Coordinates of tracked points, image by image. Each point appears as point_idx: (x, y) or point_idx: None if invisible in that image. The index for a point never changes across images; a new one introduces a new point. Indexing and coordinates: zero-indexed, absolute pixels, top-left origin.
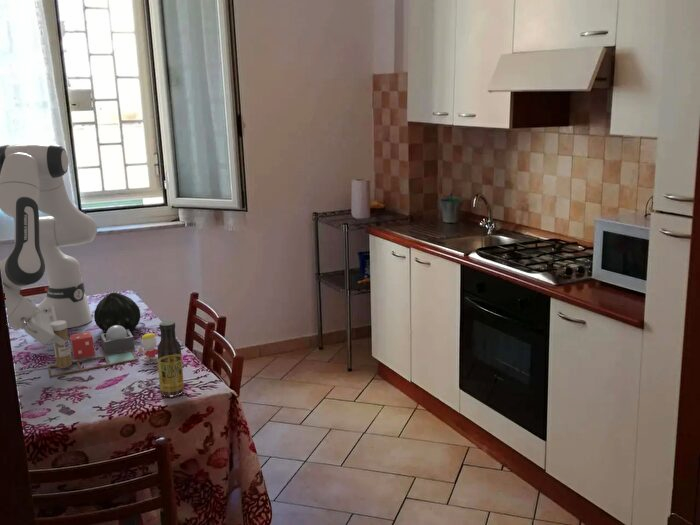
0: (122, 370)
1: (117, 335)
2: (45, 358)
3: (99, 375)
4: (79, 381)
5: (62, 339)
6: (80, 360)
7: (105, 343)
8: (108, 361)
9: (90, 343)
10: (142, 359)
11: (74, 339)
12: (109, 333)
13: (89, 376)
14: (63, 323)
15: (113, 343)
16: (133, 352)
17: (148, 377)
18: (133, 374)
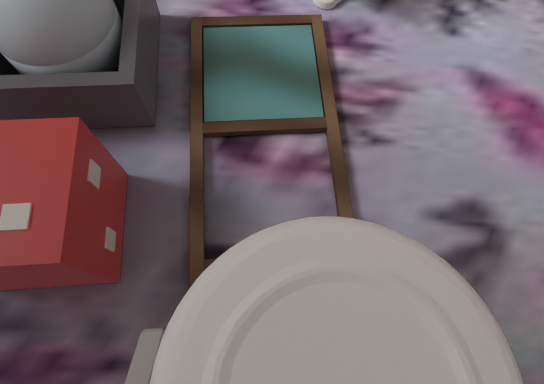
0: (418, 84)
1: (107, 3)
2: None
3: (445, 176)
4: (497, 270)
5: None
6: (198, 249)
7: (137, 85)
8: (295, 121)
9: (98, 157)
10: (332, 4)
11: (49, 242)
12: (66, 27)
13: (442, 220)
14: (452, 269)
15: (142, 55)
16: (229, 19)
17: (531, 15)
18: (482, 54)
